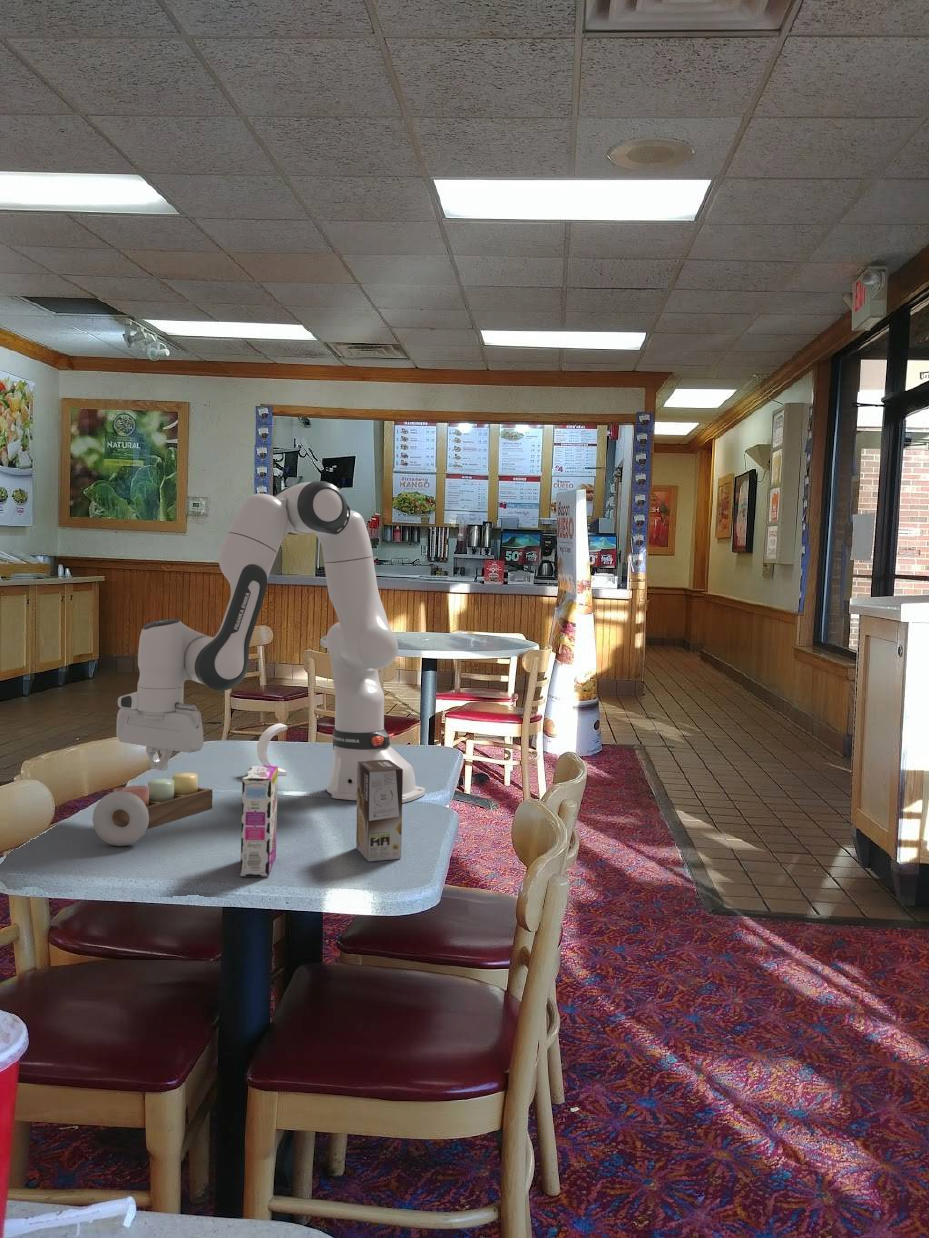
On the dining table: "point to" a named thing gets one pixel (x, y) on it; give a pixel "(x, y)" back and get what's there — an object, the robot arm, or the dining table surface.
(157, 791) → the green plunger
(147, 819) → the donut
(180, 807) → the wooden compartment tray
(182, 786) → the yellow short cylinder
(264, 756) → the headphone stand
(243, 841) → the candy bar box
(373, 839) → the coffee box
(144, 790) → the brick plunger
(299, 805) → the dining table surface
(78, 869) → the dining table surface
